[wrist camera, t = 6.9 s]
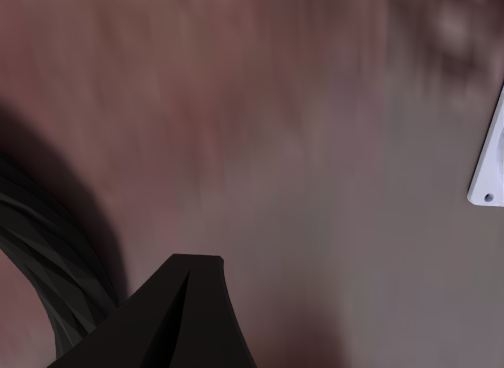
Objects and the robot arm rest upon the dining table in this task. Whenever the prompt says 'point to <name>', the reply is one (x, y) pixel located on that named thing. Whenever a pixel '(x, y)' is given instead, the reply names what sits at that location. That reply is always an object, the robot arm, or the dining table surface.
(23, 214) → the cable lock
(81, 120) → the dining table surface
